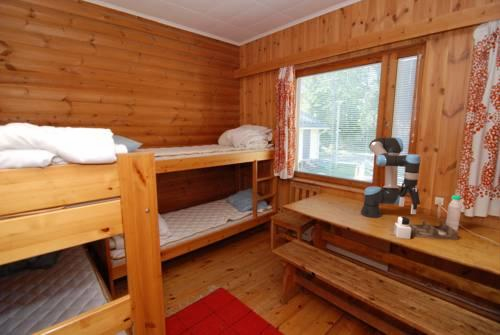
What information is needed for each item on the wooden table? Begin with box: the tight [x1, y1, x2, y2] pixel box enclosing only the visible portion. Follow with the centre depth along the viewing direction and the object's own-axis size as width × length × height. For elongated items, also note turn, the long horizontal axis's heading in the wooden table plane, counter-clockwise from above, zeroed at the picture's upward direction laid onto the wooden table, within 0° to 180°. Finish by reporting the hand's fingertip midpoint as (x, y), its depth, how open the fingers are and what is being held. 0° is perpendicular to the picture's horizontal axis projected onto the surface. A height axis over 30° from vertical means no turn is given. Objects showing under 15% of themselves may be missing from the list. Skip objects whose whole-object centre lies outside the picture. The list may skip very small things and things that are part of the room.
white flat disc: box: [437, 229, 446, 236], centre depth 164 cm, size 8×8×1 cm
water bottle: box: [445, 194, 462, 231], centre depth 168 cm, size 7×7×25 cm
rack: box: [409, 220, 459, 241], centre depth 164 cm, size 18×24×6 cm
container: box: [393, 216, 412, 240], centre depth 161 cm, size 8×8×13 cm
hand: (407, 209), depth 157 cm, fingers open, 13 cm apart
